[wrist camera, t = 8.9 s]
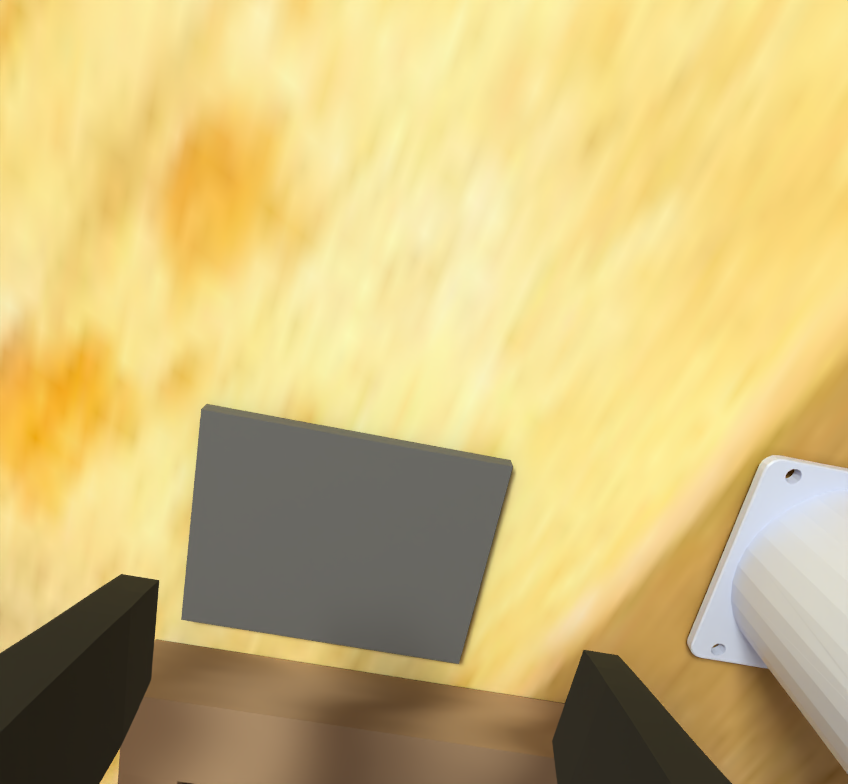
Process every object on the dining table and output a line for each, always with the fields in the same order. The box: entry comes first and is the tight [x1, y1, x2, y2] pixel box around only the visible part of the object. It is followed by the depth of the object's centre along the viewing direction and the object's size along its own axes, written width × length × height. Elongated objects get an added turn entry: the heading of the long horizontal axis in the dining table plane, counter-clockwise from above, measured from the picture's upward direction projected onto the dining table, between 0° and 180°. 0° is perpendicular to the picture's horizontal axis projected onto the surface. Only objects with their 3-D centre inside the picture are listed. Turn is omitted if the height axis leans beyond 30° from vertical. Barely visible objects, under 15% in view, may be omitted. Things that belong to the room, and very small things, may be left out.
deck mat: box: [181, 404, 513, 664], centre depth 20 cm, size 10×8×1 cm
